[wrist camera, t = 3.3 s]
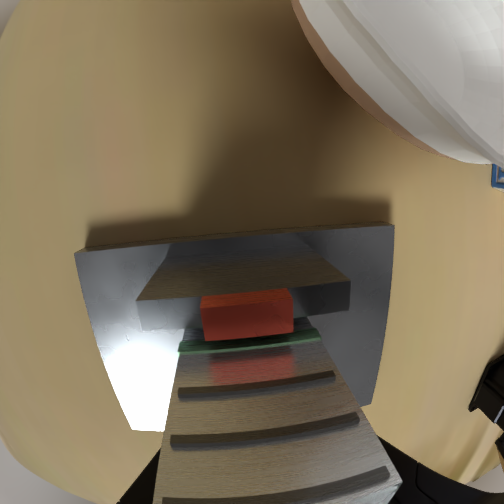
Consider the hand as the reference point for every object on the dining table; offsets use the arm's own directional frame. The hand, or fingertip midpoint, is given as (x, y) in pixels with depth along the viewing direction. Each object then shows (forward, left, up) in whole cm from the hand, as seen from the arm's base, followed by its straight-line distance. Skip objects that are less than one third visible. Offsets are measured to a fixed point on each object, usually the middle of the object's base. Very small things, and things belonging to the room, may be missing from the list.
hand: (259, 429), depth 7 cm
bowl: (-10, -15, -8) cm, 20 cm away
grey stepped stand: (0, +2, -8) cm, 8 cm away
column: (0, 0, -4) cm, 4 cm away
